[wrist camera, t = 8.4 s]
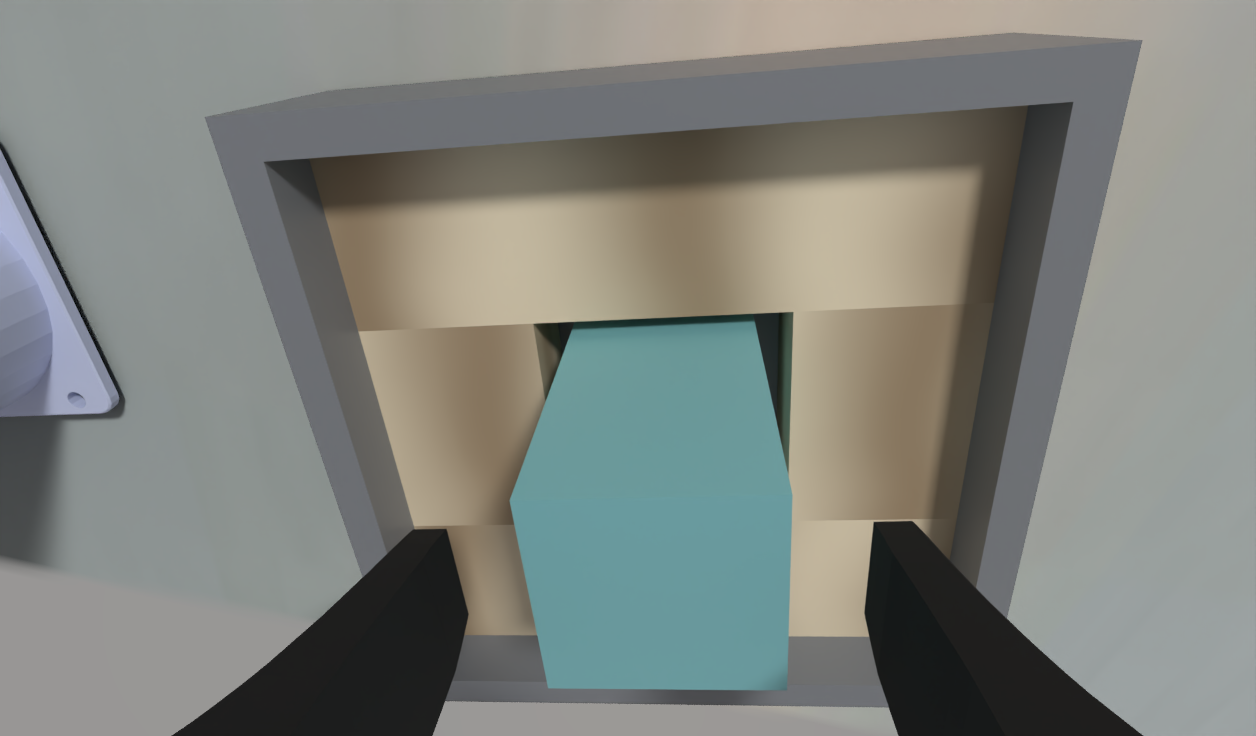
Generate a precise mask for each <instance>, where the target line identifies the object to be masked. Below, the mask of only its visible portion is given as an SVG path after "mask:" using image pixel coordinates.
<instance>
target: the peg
mask: <svg viewBox="0 0 1256 736" xmlns="http://www.w3.org/2000/svg"><path fill="white" fill-rule="evenodd" d="M792 496H793V495H792V490H791V485H790V481H789V476H788V472H787V467H786V463H785V458H784V453H783V449H782V444H781V440H780V435H779V431H778V426H777V421H776V417H775V412H774V408H773V403H772V399H771V394H770V389H769V385H768V380H767V376H766V371H765V367H764V362H763V357H762V353H761V348H760V344H759V339H758V335H757V330H756V326H755V321H754V316H753V314H735V315H713V316H691V317H669V318H647V319H625V320H602V321H580V322H575V323H574V325H573V328H572V331H571V334H570V336H569V339H568V342H567V345H566V347H565V350H564V353H563V356H562V358H561V361H560V364H559V367H558V369H557V372H556V375H555V378H554V380H553V383H552V386H551V389H550V391H549V394H548V397H547V399H546V402H545V405H544V408H543V410H542V413H541V416H540V419H539V421H538V424H537V427H536V430H535V432H534V435H533V438H532V441H531V443H530V446H529V449H528V452H527V454H526V457H525V460H524V463H523V465H522V468H521V471H520V474H519V476H518V479H517V482H516V484H515V487H514V490H513V493H512V495H511V498H510V505H511V510H512V515H513V520H514V525H515V530H516V535H517V539H518V544H519V549H520V554H521V559H522V564H523V568H524V573H525V578H526V583H527V588H528V593H529V598H530V602H531V607H532V612H533V617H534V622H535V627H536V632H537V636H538V641H539V646H540V651H541V656H542V661H543V666H544V670H545V675H546V680H547V685H548V688H561V689H675V690H787V675H788V639H789V604H790V568H791V532H792Z"/></svg>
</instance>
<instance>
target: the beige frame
mask: <svg viewBox="0 0 1256 736" xmlns="http://www.w3.org/2000/svg"><path fill="white" fill-rule="evenodd" d="M1027 110H1028V105H1024V106H1011V107H997V108H983V109H970V110H956V111H943V112H929V113H916V114H902V115H889V116H875V117H862V118H848V119H835V120H821V121H808V122H794V123H781V124H767V125H754V126H740V127H727V128H713V129H700V130H686V131H673V132H659V133H646V134H632V135H619V136H605V137H591V138H578V139H564V140H551V141H537V142H524V143H510V144H497V145H483V146H470V147H456V148H443V149H429V150H416V151H402V152H389V153H375V154H362V155H348V156H335V157H321V158H309V160H310V164H311V167H312V171H313V174H314V178H315V181H316V185H317V188H318V192H319V195H320V199H321V202H322V206H323V209H324V213H325V216H326V220H327V223H328V227H329V230H330V234H331V237H332V241H333V244H334V248H335V251H336V255H337V258H338V262H339V265H340V269H341V272H342V276H343V279H344V283H345V286H346V290H347V293H348V297H349V300H350V304H351V307H352V311H353V314H354V318H355V321H356V325H357V328H358V332H359V335H360V339H361V342H362V346H363V349H364V353H365V356H366V360H367V363H368V367H369V370H370V374H371V377H372V381H373V385H374V388H375V392H376V395H377V399H378V402H379V406H380V409H381V413H382V416H383V420H384V423H385V427H386V430H387V434H388V437H389V441H390V444H391V448H392V451H393V455H394V458H395V462H396V465H397V469H398V472H399V476H400V479H401V483H402V486H403V490H404V493H405V497H406V500H407V504H408V507H409V511H410V514H411V518H412V521H413V525H414V528H415V529H447V532H448V536H449V540H450V544H451V548H452V551H453V555H454V559H455V563H456V567H457V571H458V575H459V579H460V582H461V586H462V590H463V594H464V598H465V602H466V606H467V609H468V613H469V616H468V620H467V625H466V629H465V634H464V635H537V632H536V627H535V622H534V617H533V612H532V607H531V602H530V598H529V593H528V588H527V583H526V578H525V573H524V568H523V564H522V559H521V554H520V549H519V544H518V539H517V535H516V530H515V525H514V520H513V515H512V510H511V505H510V498H511V495H512V493H513V490H514V487H515V484H516V482H517V479H518V476H519V474H520V471H521V468H522V465H523V463H524V460H525V457H526V454H527V452H528V449H529V446H530V443H531V441H532V438H533V435H534V432H535V430H536V427H537V424H538V421H539V419H540V416H541V413H542V410H543V408H544V405H545V402H546V399H547V397H548V394H549V391H550V389H551V386H552V383H553V380H554V378H555V375H556V372H557V369H558V367H559V364H560V361H561V358H562V349H561V342H560V334H559V327H558V322H580V321H602V320H625V319H647V318H669V317H691V316H713V315H735V314H757V313H779V331H778V382H777V426H778V431H779V435H780V440H781V444H782V449H783V453H784V458H785V463H786V467H787V472H788V476H789V481H790V485H791V490H792V495H793V496H792V532H791V568H790V604H789V636H824V637H869V633H868V629H867V624H866V619H865V614H864V610H865V601H866V591H867V581H868V572H869V562H870V552H871V543H872V533H873V524H874V522H882V521H913V522H914V523H915V524H916V525H917V526H918V527H919V528H920V529H921V530H922V531H923V532H924V533H925V534H926V535H927V536H928V537H929V538H930V540H931V541H932V542H933V543H934V544H935V545H936V546H937V547H938V548H939V549H940V550H941V552H942V553H943V554H944V555H945V556H946V557H947V558H948V559H949V560H950V555H951V550H952V544H953V538H954V532H955V526H956V521H957V515H958V509H959V503H960V498H961V492H962V486H963V480H964V474H965V469H966V463H967V457H968V451H969V445H970V440H971V434H972V428H973V422H974V417H975V411H976V405H977V399H978V393H979V388H980V382H981V376H982V370H983V364H984V359H985V353H986V347H987V341H988V336H989V330H990V324H991V318H992V312H993V307H994V301H995V295H996V289H997V283H998V278H999V272H1000V266H1001V260H1002V255H1003V249H1004V243H1005V237H1006V231H1007V226H1008V220H1009V214H1010V208H1011V202H1012V197H1013V191H1014V185H1015V179H1016V174H1017V168H1018V162H1019V156H1020V150H1021V145H1022V139H1023V133H1024V127H1025V121H1026V116H1027Z"/></svg>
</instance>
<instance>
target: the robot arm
mask: <svg viewBox="0 0 1256 736" xmlns="http://www.w3.org/2000/svg"><path fill="white" fill-rule="evenodd" d="M81 395H82V396H83V398H82V396H81ZM118 402H119V396H118V392H117V390H116V388H115V386H114V384H113V382H112V380H111V378H110V376H109V374H108V372H107V370H106V367H105V365H104V363H103V361H102V359H101V357H100V355H99V353H98V351H97V349H96V347H95V345H94V343H93V341H92V338H91V336H90V334H89V332H88V330H87V328H86V326H85V324H84V322H83V320H82V318H81V316H80V314H79V311H78V309H77V307H76V305H75V303H74V301H73V299H72V297H71V295H70V293H69V291H68V289H67V287H66V284H65V282H64V280H63V278H62V276H61V274H60V272H59V270H58V268H57V266H56V264H55V262H54V260H53V257H52V255H51V253H50V251H49V249H48V247H47V245H46V243H45V241H44V239H43V237H42V235H41V233H40V230H39V228H38V226H37V224H36V222H35V220H34V218H33V216H32V214H31V212H30V210H29V208H28V206H27V203H26V201H25V199H24V197H23V195H22V193H21V191H20V189H19V187H18V185H17V183H16V181H15V179H14V176H13V174H12V172H11V170H10V168H9V166H8V164H7V162H6V160H5V158H4V156H3V154H2V152H1V149H0V417H16V416H46V415H76V414H102V413H106V412H108V411H110V410H111V409H113V408H114V407H115V406H116V405H117V404H118ZM864 614H865V619H866V624H867V629H868V633H869V638H870V643H871V647H872V652H873V656H874V660H875V665H876V669H877V673H878V677H879V680H880V683H881V686H882V689H883V692H884V694H885V697H886V700H887V703H888V706H889V709H890V712H891V715H892V718H893V721H894V724H895V727H896V730H897V732H898V735H899V736H1143V735H1142V734H1140V733H1139V732H1138V731H1136V730H1135V729H1134V728H1133V727H1131V726H1130V725H1129V724H1127V723H1126V722H1125V721H1124V720H1122V719H1121V718H1120V717H1119V716H1117V715H1116V714H1115V713H1114V712H1112V711H1111V710H1110V709H1108V708H1107V707H1106V706H1105V705H1103V704H1102V703H1101V702H1100V701H1098V700H1097V699H1096V698H1095V697H1093V696H1092V695H1091V694H1090V693H1088V692H1087V691H1086V690H1085V689H1084V688H1082V687H1081V686H1080V685H1079V684H1078V683H1077V682H1075V681H1074V680H1073V679H1072V678H1071V677H1070V676H1068V675H1067V674H1066V673H1065V672H1064V671H1063V670H1062V669H1061V668H1059V667H1058V666H1057V665H1056V664H1055V663H1054V662H1053V661H1052V660H1050V659H1049V658H1048V657H1047V656H1046V655H1045V654H1044V653H1043V652H1042V651H1040V650H1039V649H1038V648H1037V647H1036V646H1035V645H1034V644H1033V643H1032V642H1031V641H1030V640H1029V639H1027V638H1026V637H1025V636H1024V635H1023V634H1022V633H1021V632H1020V631H1019V630H1018V629H1017V628H1016V627H1015V626H1014V625H1013V624H1012V623H1011V622H1010V621H1009V620H1008V619H1007V618H1006V617H1005V616H1004V615H1003V614H1002V613H1001V612H1000V611H999V610H998V609H997V608H995V607H994V606H993V605H992V604H991V603H990V602H989V601H988V600H987V599H986V598H985V597H984V596H983V595H982V594H981V593H980V592H979V591H978V590H977V588H976V587H975V586H974V585H973V584H972V583H971V582H970V581H969V580H968V579H967V578H966V577H965V576H964V575H963V574H962V573H961V572H960V571H959V570H958V569H957V568H956V567H955V565H954V564H953V563H952V562H951V561H950V560H949V559H948V558H947V557H946V556H945V555H944V554H943V553H942V552H941V550H940V549H939V548H938V547H937V546H936V545H935V544H934V543H933V542H932V541H931V540H930V538H929V537H928V536H927V535H926V534H925V533H924V532H923V531H922V530H921V529H920V528H919V527H918V526H917V525H916V524H915V523H914V522H913V521H882V522H874V524H873V533H872V543H871V552H870V562H869V572H868V581H867V591H866V601H865V610H864ZM468 616H469V613H468V609H467V606H466V602H465V598H464V594H463V590H462V586H461V582H460V579H459V575H458V571H457V567H456V563H455V559H454V555H453V551H452V548H451V544H450V540H449V536H448V532H447V529H413V530H412V531H411V532H410V533H409V534H407V535H406V536H405V537H404V538H403V539H402V540H401V541H400V542H399V543H398V544H397V545H396V546H395V547H394V548H393V549H392V550H391V551H389V552H388V553H387V554H386V555H385V556H384V557H383V558H382V559H381V560H380V561H379V562H378V563H377V564H376V565H375V566H374V567H373V568H372V569H371V570H370V571H369V572H368V573H367V574H366V575H365V576H364V577H363V578H362V579H361V580H360V581H359V582H358V583H357V584H355V585H354V586H353V587H352V588H351V589H350V590H349V591H348V592H347V593H346V594H345V595H344V596H343V597H342V598H341V599H340V600H339V601H337V602H336V603H335V604H334V605H333V606H332V607H331V608H330V609H329V610H328V611H327V612H326V613H325V614H324V615H323V616H322V617H320V618H319V619H318V620H317V621H316V622H315V623H314V624H313V625H311V626H310V627H309V628H308V629H307V630H306V631H304V632H303V633H302V634H301V635H300V636H299V637H298V638H296V639H295V640H294V641H293V642H292V643H291V644H290V645H288V646H287V647H286V648H285V649H284V650H283V651H282V652H280V653H279V654H278V655H277V656H276V657H275V658H274V659H272V660H271V661H270V662H269V663H268V664H267V665H266V666H264V667H263V668H262V669H260V670H259V671H258V672H257V673H256V674H255V675H253V676H252V677H251V678H249V679H248V680H247V681H246V682H244V683H243V684H242V685H241V686H239V687H238V688H237V689H235V690H234V691H233V692H231V693H230V694H229V695H227V696H226V697H225V698H224V699H222V700H221V701H220V702H218V703H217V704H216V705H214V706H213V707H212V708H210V709H209V710H208V711H206V712H205V713H204V714H202V715H201V716H199V717H198V718H197V719H195V720H194V721H193V722H191V723H190V724H188V725H187V726H185V727H184V728H183V729H181V730H179V731H178V732H177V733H175V734H174V735H172V736H432V735H433V732H434V730H435V727H436V724H437V722H438V718H439V716H440V713H441V711H442V708H443V705H444V702H445V700H446V697H447V694H448V691H449V689H450V686H451V683H452V680H453V677H454V674H455V672H456V668H457V664H458V660H459V655H460V651H461V647H462V643H463V639H464V634H465V629H466V625H467V620H468Z"/></svg>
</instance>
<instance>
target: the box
mask: <svg viewBox="0 0 1256 736" xmlns="http://www.w3.org/2000/svg"><path fill="white" fill-rule="evenodd" d="M1141 44H1142V40H1129V39H1112V38H1094V37H1077V36H1060V35H1043V34H1026V33H1006V34H994V35H982V36H970V37H958V38H947V39H935V40H923V41H911V42H899V43H888V44H876V45H864V46H852V47H840V48H829V49H817V50H805V51H793V52H781V53H770V54H758V55H746V56H734V57H722V58H711V59H699V60H687V61H675V62H663V63H652V64H640V65H628V66H616V67H604V68H593V69H581V70H569V71H557V72H545V73H534V74H522V75H510V76H498V77H486V78H475V79H463V80H451V81H439V82H427V83H416V84H404V85H392V86H380V87H368V88H357V89H345V90H333V91H325V92H320V93H315V94H311V95H306V96H301V97H297V98H292V99H288V100H283V101H278V102H274V103H269V104H264V105H260V106H255V107H250V108H246V109H241V110H236V111H232V112H227V113H222V114H218V115H213V116H208V117H205V119H206V122H207V125H208V128H209V131H210V134H211V137H212V139H213V142H214V145H215V148H216V151H217V154H218V157H219V160H220V163H221V166H222V169H223V172H224V174H225V177H226V180H227V183H228V186H229V189H230V192H231V195H232V198H233V201H234V204H235V206H236V209H237V212H238V215H239V218H240V221H241V224H242V227H243V230H244V233H245V236H246V239H247V241H248V244H249V247H250V250H251V253H252V256H253V259H254V262H255V265H256V268H257V271H258V273H259V276H260V279H261V282H262V285H263V288H264V291H265V294H266V297H267V300H268V303H269V305H270V308H271V311H272V314H273V317H274V320H275V323H276V326H277V329H278V332H279V335H280V338H281V340H282V343H283V346H284V349H285V352H286V355H287V358H288V361H289V364H290V367H291V370H292V372H293V375H294V378H295V381H296V384H297V387H298V390H299V393H300V396H301V399H302V402H303V404H304V407H305V410H306V413H307V416H308V419H309V422H310V425H311V428H312V431H313V434H314V437H315V439H316V442H317V445H318V448H319V451H320V454H321V457H322V460H323V463H324V466H325V469H326V471H327V474H328V477H329V480H330V483H331V486H332V489H333V492H334V495H335V498H336V501H337V504H338V506H339V509H340V512H341V515H342V518H343V521H344V524H345V527H346V530H347V533H348V536H349V538H350V541H351V544H352V547H353V550H354V553H355V556H356V559H357V562H358V565H359V568H360V570H361V573H362V576H363V577H364V576H365V575H366V574H367V573H368V572H369V571H370V570H371V569H372V568H373V567H374V566H375V565H376V564H377V563H378V562H379V561H380V560H381V559H382V558H383V557H384V556H385V555H386V554H387V553H388V552H389V551H391V550H392V549H393V548H394V547H395V546H396V545H397V544H398V543H399V542H400V541H401V540H402V539H403V538H404V537H405V536H406V535H407V534H409V533H410V532H411V531H412V530H413V529H415V528H414V525H413V521H412V518H411V514H410V511H409V507H408V504H407V500H406V497H405V493H404V490H403V486H402V483H401V479H400V476H399V472H398V469H397V465H396V462H395V458H394V455H393V451H392V448H391V444H390V441H389V437H388V434H387V430H386V427H385V423H384V420H383V416H382V413H381V409H380V406H379V402H378V399H377V395H376V392H375V388H374V385H373V381H372V377H371V374H370V370H369V367H368V363H367V360H366V356H365V353H364V349H363V346H362V342H361V339H360V335H359V332H358V328H357V325H356V321H355V318H354V314H353V311H352V307H351V304H350V300H349V297H348V293H347V290H346V286H345V283H344V279H343V276H342V272H341V269H340V265H339V262H338V258H337V255H336V251H335V248H334V244H333V241H332V237H331V234H330V230H329V227H328V223H327V220H326V216H325V213H324V209H323V206H322V202H321V199H320V195H319V192H318V188H317V185H316V181H315V178H314V174H313V171H312V167H311V164H310V160H309V158H321V157H335V156H348V155H362V154H375V153H389V152H402V151H416V150H429V149H443V148H456V147H470V146H483V145H497V144H510V143H524V142H537V141H551V140H564V139H578V138H591V137H605V136H619V135H632V134H646V133H659V132H673V131H686V130H700V129H713V128H727V127H740V126H754V125H767V124H781V123H794V122H808V121H821V120H835V119H848V118H862V117H875V116H889V115H902V114H916V113H929V112H943V111H956V110H970V109H983V108H997V107H1011V106H1024V105H1028V110H1027V116H1026V121H1025V127H1024V133H1023V139H1022V145H1021V150H1020V156H1019V162H1018V168H1017V174H1016V179H1015V185H1014V191H1013V197H1012V202H1011V208H1010V214H1009V220H1008V226H1007V231H1006V237H1005V243H1004V249H1003V255H1002V260H1001V266H1000V272H999V278H998V283H997V289H996V295H995V301H994V307H993V312H992V318H991V324H990V330H989V336H988V341H987V347H986V353H985V359H984V364H983V370H982V376H981V382H980V388H979V393H978V399H977V405H976V411H975V417H974V422H973V428H972V434H971V440H970V445H969V451H968V457H967V463H966V469H965V474H964V480H963V486H962V492H961V498H960V503H959V509H958V515H957V521H956V526H955V532H954V538H953V544H952V550H951V555H950V561H951V562H952V563H953V564H954V565H955V567H956V568H957V569H958V570H959V571H960V572H961V573H962V574H963V575H964V576H965V577H966V578H967V579H968V580H969V581H970V582H971V583H972V584H973V585H974V586H975V587H976V588H977V590H978V591H979V592H980V593H981V594H982V595H983V596H984V597H985V598H986V599H987V600H988V601H989V602H990V603H991V604H992V605H993V606H994V607H995V608H997V609H998V610H999V611H1000V612H1001V613H1002V614H1003V615H1004V616H1005V617H1006V618H1007V615H1008V611H1009V607H1010V602H1011V598H1012V594H1013V590H1014V585H1015V581H1016V577H1017V573H1018V568H1019V564H1020V560H1021V556H1022V551H1023V547H1024V543H1025V538H1026V534H1027V530H1028V526H1029V521H1030V517H1031V513H1032V509H1033V504H1034V500H1035V496H1036V492H1037V487H1038V483H1039V479H1040V474H1041V470H1042V466H1043V462H1044V457H1045V453H1046V449H1047V445H1048V440H1049V436H1050V432H1051V428H1052V423H1053V419H1054V415H1055V410H1056V406H1057V402H1058V398H1059V393H1060V389H1061V385H1062V381H1063V376H1064V372H1065V368H1066V364H1067V359H1068V355H1069V351H1070V346H1071V342H1072V338H1073V334H1074V329H1075V325H1076V321H1077V317H1078V312H1079V308H1080V304H1081V300H1082V295H1083V291H1084V287H1085V282H1086V278H1087V274H1088V270H1089V265H1090V261H1091V257H1092V253H1093V248H1094V244H1095V240H1096V236H1097V231H1098V227H1099V223H1100V219H1101V214H1102V210H1103V206H1104V201H1105V197H1106V193H1107V189H1108V184H1109V180H1110V176H1111V172H1112V167H1113V163H1114V159H1115V155H1116V150H1117V146H1118V142H1119V137H1120V133H1121V129H1122V125H1123V120H1124V116H1125V112H1126V108H1127V103H1128V99H1129V95H1130V91H1131V86H1132V82H1133V78H1134V73H1135V69H1136V65H1137V61H1138V56H1139V52H1140V48H1141ZM753 316H754V321H755V326H756V330H757V335H758V339H759V344H760V348H761V353H762V357H763V362H764V367H765V371H766V376H767V380H768V385H769V389H770V394H771V399H772V403H773V408H774V412H775V417H776V421H777V382H778V331H779V313H757V314H753ZM574 323H575V322H558V327H559V334H560V342H561V349H562V356H563V353H564V350H565V347H566V345H567V342H568V339H569V336H570V334H571V331H572V328H573V325H574ZM445 701H479V702H480V701H481V702H550V703H618V704H687V705H693V704H694V705H757V706H827V707H889V706H888V703H887V700H886V697H885V694H884V692H883V689H882V686H881V683H880V680H879V677H878V673H877V669H876V665H875V660H874V656H873V652H872V647H871V643H870V638H869V637H824V636H789V639H788V675H787V690H675V689H561V688H548V685H547V680H546V675H545V670H544V666H543V661H542V656H541V651H540V646H539V641H538V636H537V635H464V639H463V643H462V647H461V651H460V655H459V660H458V664H457V668H456V672H455V674H454V677H453V680H452V683H451V686H450V689H449V691H448V694H447V697H446V700H445Z"/></svg>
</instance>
